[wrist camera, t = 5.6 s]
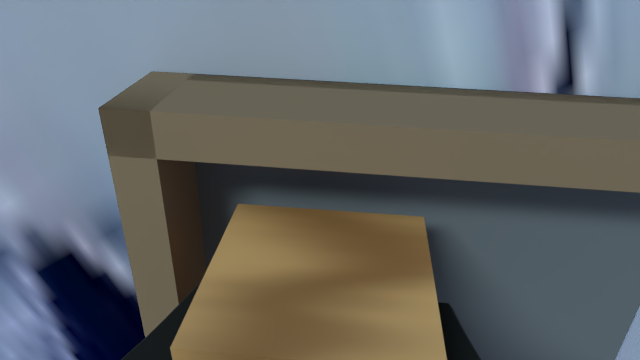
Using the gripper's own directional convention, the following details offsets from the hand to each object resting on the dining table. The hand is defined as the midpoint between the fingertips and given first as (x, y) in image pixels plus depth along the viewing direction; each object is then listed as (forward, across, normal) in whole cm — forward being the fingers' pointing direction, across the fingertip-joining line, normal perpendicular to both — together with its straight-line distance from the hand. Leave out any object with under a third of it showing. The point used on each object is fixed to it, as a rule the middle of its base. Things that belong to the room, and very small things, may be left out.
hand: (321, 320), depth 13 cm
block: (+2, 0, 0) cm, 2 cm away
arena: (+4, -2, +2) cm, 5 cm away
